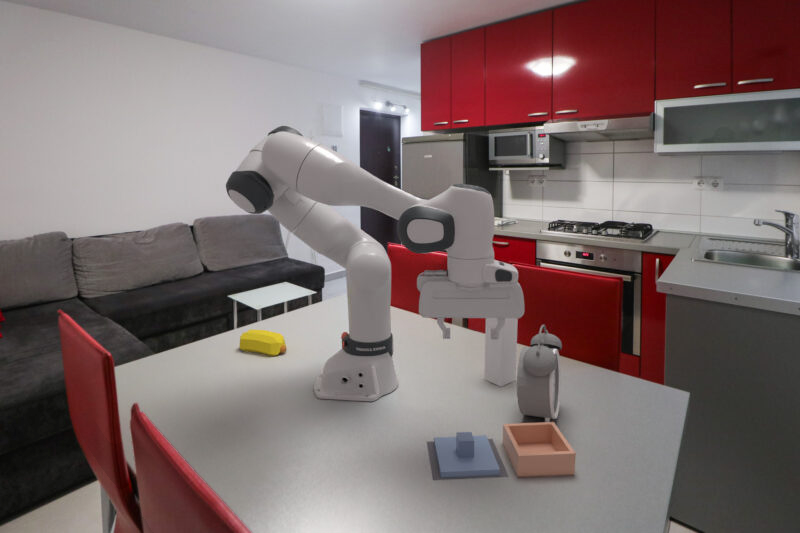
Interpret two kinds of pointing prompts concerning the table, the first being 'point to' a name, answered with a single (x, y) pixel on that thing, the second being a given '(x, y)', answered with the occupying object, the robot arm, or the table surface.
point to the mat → (437, 476)
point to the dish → (538, 449)
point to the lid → (465, 456)
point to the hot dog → (262, 342)
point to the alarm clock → (540, 377)
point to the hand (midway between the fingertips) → (470, 338)
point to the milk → (501, 352)
